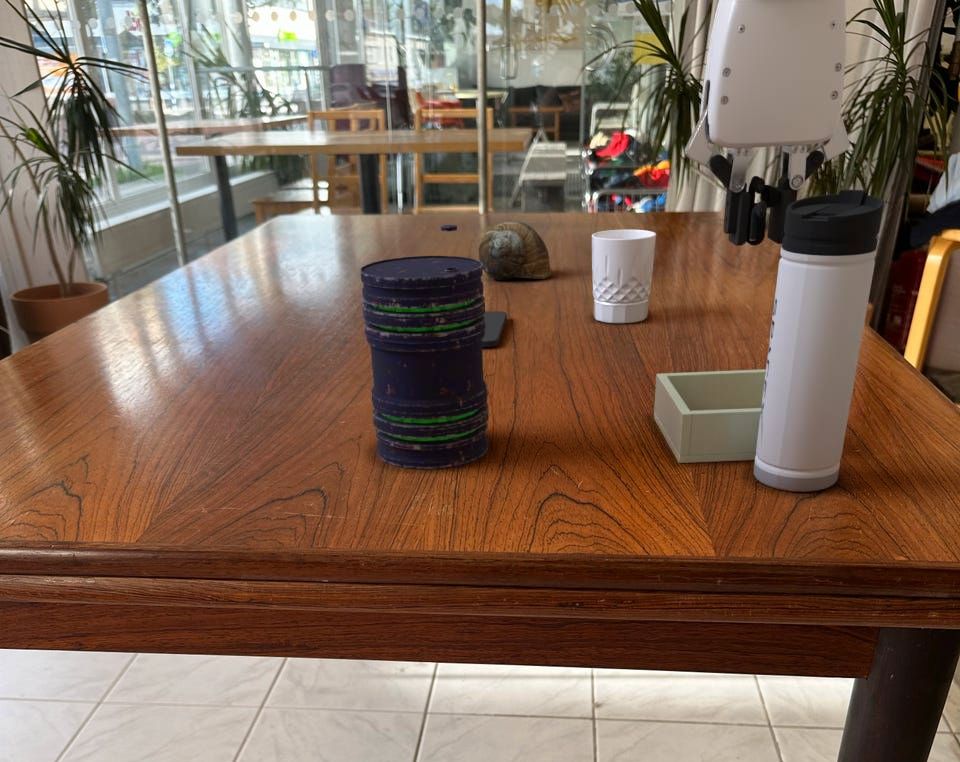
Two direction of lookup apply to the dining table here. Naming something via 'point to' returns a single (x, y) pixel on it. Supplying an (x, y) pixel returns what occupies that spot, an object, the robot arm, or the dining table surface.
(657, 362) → the dining table surface
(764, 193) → the wireless earbuds
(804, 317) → the travel mug
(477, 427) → the storage jar
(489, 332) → the phone
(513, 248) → the seashell
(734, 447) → the box
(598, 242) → the white cup
